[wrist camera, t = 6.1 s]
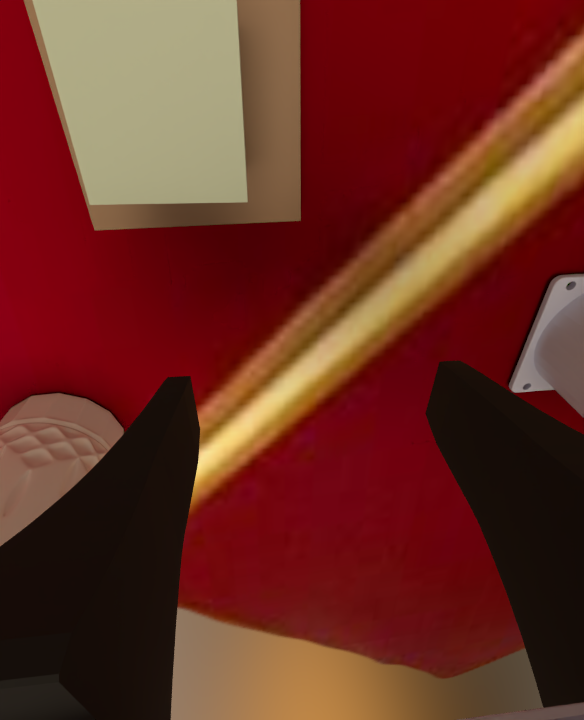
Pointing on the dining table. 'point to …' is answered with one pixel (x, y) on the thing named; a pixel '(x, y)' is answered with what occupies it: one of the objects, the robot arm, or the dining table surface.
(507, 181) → the dining table surface
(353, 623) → the dining table surface
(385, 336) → the dining table surface
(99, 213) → the walnut base
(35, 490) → the white cup
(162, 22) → the green block
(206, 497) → the dining table surface
